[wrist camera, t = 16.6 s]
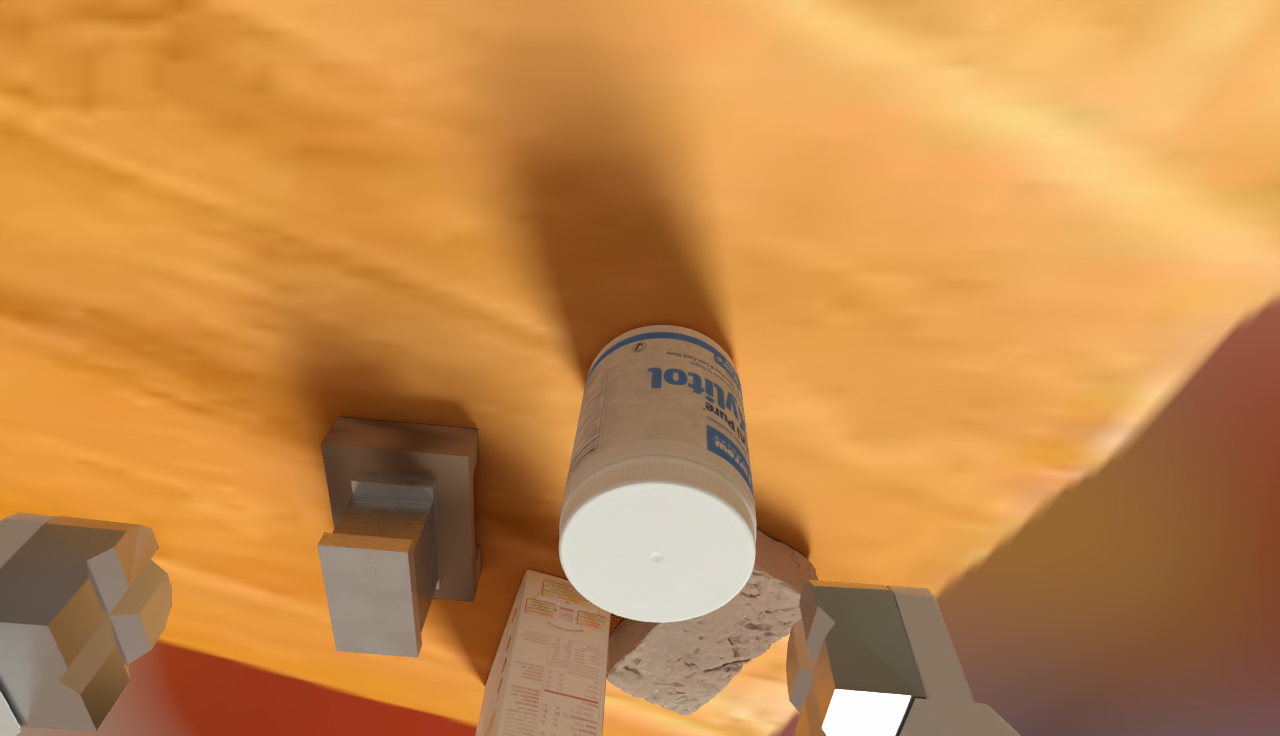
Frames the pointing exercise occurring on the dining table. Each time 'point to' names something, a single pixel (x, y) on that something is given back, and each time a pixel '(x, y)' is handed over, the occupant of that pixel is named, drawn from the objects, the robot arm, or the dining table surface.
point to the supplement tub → (660, 479)
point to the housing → (383, 564)
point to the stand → (419, 455)
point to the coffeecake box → (548, 664)
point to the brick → (711, 635)
